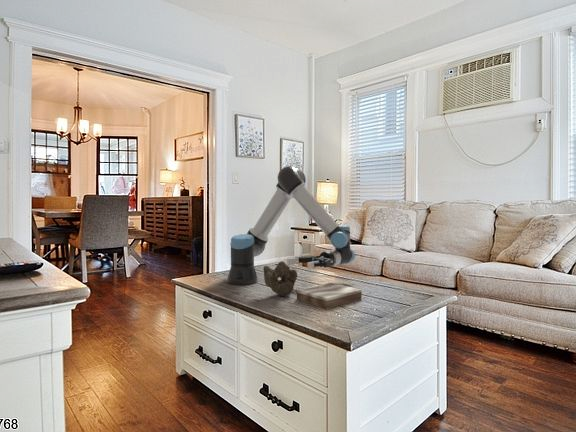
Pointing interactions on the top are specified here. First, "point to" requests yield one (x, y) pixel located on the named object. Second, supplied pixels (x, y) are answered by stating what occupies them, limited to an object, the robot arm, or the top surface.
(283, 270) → the decorative stone
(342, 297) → the block
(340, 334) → the top surface
